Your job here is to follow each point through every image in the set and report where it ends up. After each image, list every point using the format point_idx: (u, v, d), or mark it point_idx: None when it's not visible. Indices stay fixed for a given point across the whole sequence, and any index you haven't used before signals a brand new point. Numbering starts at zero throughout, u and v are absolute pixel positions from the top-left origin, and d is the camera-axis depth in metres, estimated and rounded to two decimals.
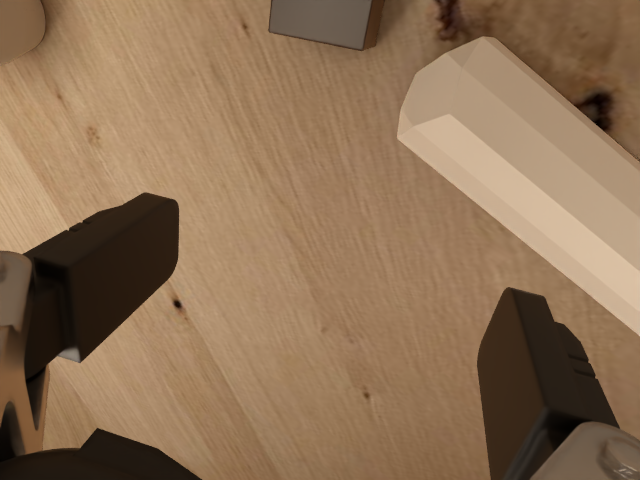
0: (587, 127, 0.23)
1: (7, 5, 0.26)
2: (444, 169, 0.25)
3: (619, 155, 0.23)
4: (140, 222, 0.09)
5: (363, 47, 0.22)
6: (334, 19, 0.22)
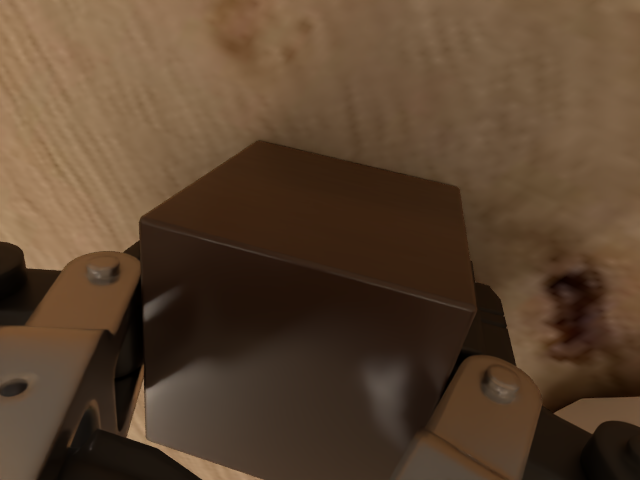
0: None
1: None
2: None
3: None
4: None
5: None
6: (313, 456, 0.08)
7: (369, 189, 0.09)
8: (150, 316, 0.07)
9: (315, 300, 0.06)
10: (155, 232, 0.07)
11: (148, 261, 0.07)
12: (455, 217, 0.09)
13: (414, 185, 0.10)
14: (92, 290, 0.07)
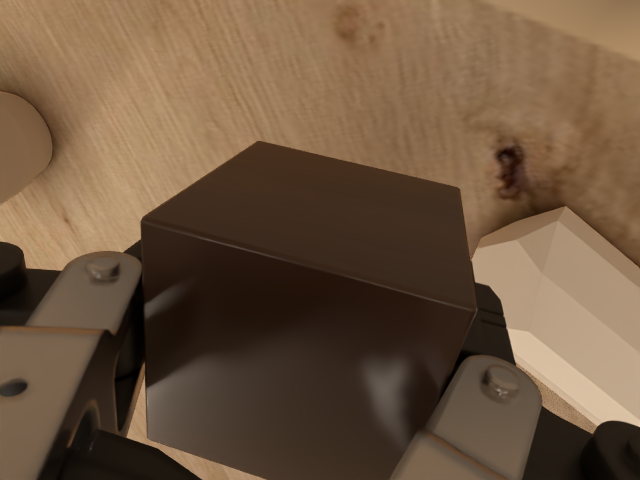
0: None
1: (10, 149, 0.23)
2: None
3: None
4: None
5: None
6: (313, 456, 0.08)
7: (369, 189, 0.09)
8: (151, 316, 0.07)
9: (315, 300, 0.06)
10: (157, 232, 0.07)
11: (150, 261, 0.07)
12: (455, 217, 0.09)
13: (414, 185, 0.10)
14: (92, 290, 0.07)
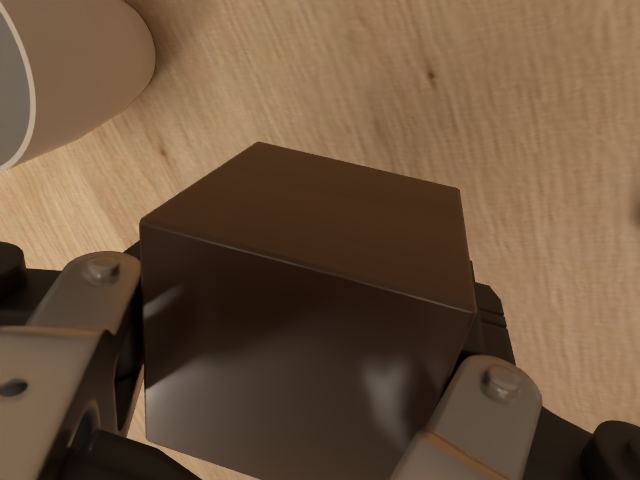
0: None
1: (126, 49, 0.20)
2: None
3: None
4: None
5: None
6: (313, 457, 0.08)
7: (369, 190, 0.09)
8: (150, 317, 0.07)
9: (315, 302, 0.06)
10: (155, 233, 0.07)
11: (148, 262, 0.07)
12: (455, 218, 0.09)
13: (414, 186, 0.10)
14: (92, 290, 0.07)
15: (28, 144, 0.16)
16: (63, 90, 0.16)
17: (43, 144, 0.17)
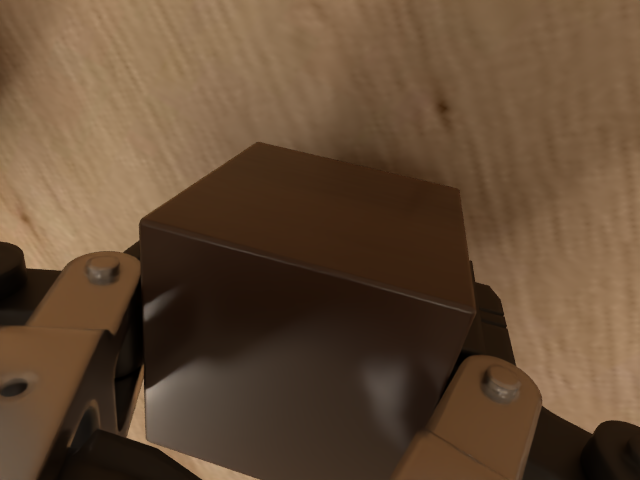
0: None
1: None
2: None
3: None
4: None
5: None
6: (313, 458, 0.08)
7: (369, 190, 0.09)
8: (150, 318, 0.07)
9: (314, 302, 0.06)
10: (155, 234, 0.07)
11: (148, 263, 0.07)
12: (455, 219, 0.09)
13: (413, 186, 0.10)
14: (92, 290, 0.07)
15: None
16: None
17: None
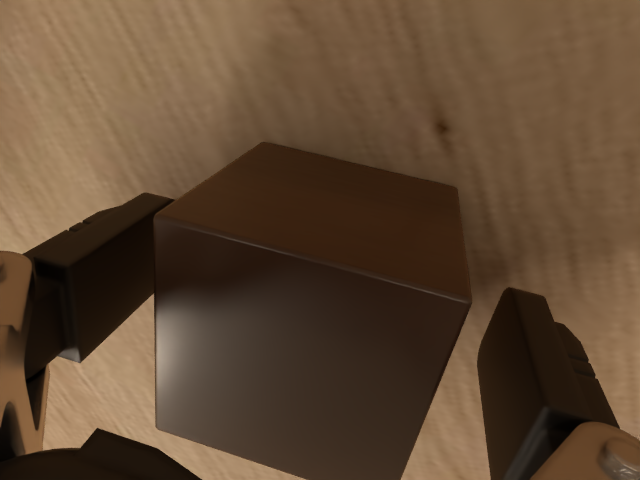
0: None
1: None
2: None
3: None
4: (140, 222, 0.09)
5: None
6: (316, 443, 0.08)
7: (370, 189, 0.09)
8: (162, 308, 0.08)
9: (320, 293, 0.07)
10: (169, 228, 0.07)
11: (161, 256, 0.07)
12: (452, 216, 0.09)
13: (413, 185, 0.10)
14: None
15: None
16: None
17: None
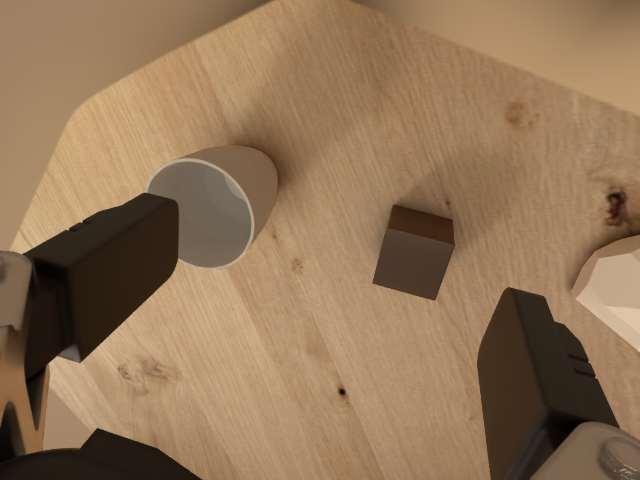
0: None
1: (274, 190, 0.35)
2: (615, 326, 0.33)
3: None
4: (140, 222, 0.09)
5: (435, 298, 0.34)
6: (417, 282, 0.34)
7: (428, 220, 0.35)
8: (384, 248, 0.33)
9: (423, 244, 0.33)
10: (391, 230, 0.33)
11: (387, 236, 0.33)
12: (450, 228, 0.35)
13: (439, 219, 0.36)
14: None
15: (242, 256, 0.31)
16: (259, 227, 0.31)
17: None
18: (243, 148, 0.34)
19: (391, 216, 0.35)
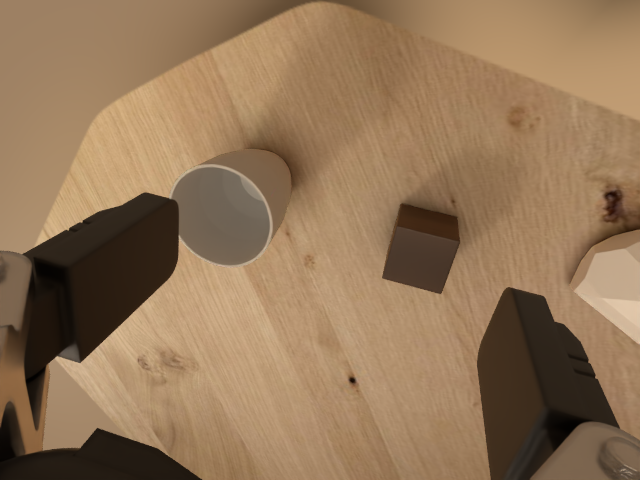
0: None
1: (289, 191, 0.37)
2: (611, 316, 0.35)
3: None
4: (140, 222, 0.09)
5: (441, 292, 0.36)
6: (425, 277, 0.36)
7: (435, 218, 0.37)
8: (393, 245, 0.35)
9: (430, 241, 0.35)
10: (399, 228, 0.35)
11: (396, 234, 0.35)
12: (456, 225, 0.37)
13: (445, 216, 0.38)
14: None
15: (261, 254, 0.33)
16: (276, 227, 0.33)
17: None
18: (259, 152, 0.36)
19: (399, 215, 0.37)
